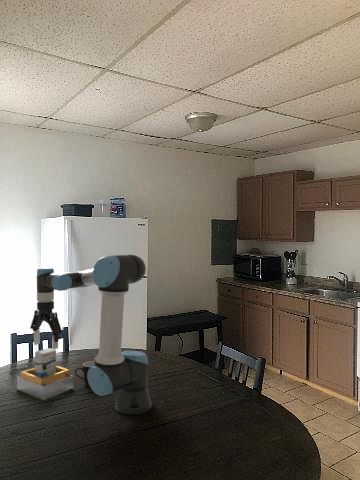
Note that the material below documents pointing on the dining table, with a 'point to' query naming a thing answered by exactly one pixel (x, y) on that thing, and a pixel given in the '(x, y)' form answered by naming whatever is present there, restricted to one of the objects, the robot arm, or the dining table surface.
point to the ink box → (45, 362)
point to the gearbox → (45, 383)
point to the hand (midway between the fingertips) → (45, 346)
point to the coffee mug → (86, 371)
